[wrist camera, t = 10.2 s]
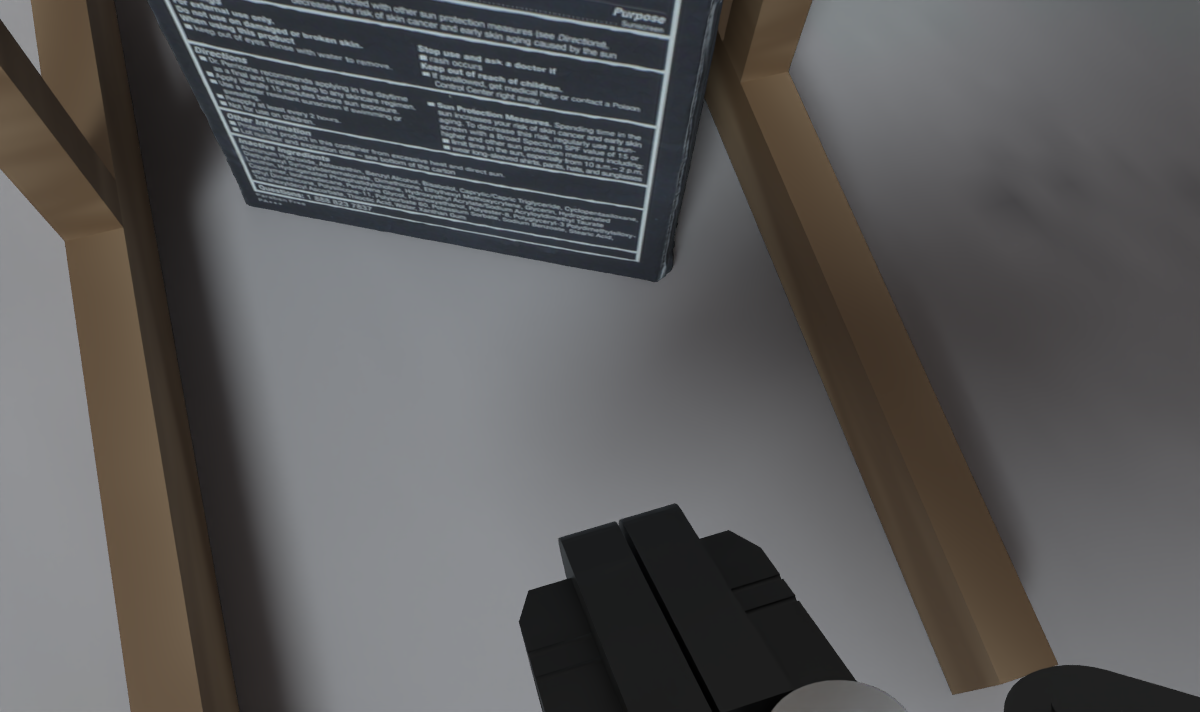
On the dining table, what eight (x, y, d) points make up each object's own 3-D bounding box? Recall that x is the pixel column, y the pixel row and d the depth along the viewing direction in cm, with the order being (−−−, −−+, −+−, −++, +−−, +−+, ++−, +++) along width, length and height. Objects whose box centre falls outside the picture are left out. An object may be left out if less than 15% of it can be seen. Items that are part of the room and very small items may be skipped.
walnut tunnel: (644, -148, 30) (718, -845, 17) (1004, 677, 22) (1667, 523, 9) (59, -34, 28) (-367, -751, 15) (212, 949, 19) (-466, 1283, 6)
